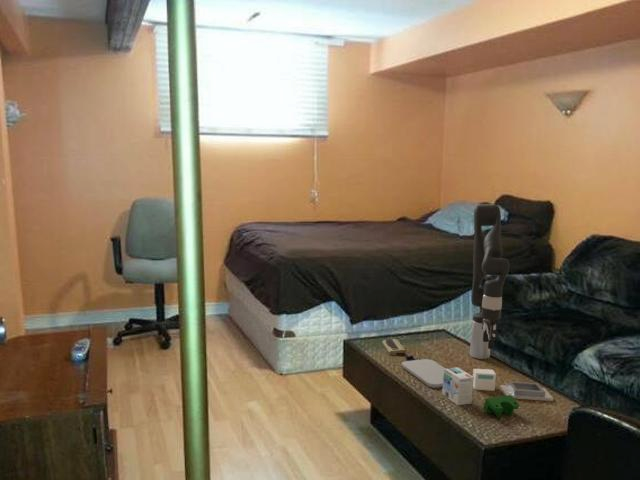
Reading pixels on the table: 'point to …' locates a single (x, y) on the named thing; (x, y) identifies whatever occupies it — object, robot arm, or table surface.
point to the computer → (394, 347)
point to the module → (484, 379)
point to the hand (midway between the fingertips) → (488, 345)
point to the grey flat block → (526, 391)
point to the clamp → (500, 405)
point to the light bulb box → (457, 386)
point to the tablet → (426, 371)
